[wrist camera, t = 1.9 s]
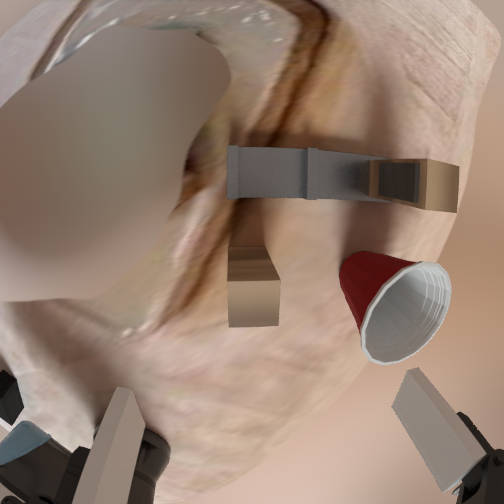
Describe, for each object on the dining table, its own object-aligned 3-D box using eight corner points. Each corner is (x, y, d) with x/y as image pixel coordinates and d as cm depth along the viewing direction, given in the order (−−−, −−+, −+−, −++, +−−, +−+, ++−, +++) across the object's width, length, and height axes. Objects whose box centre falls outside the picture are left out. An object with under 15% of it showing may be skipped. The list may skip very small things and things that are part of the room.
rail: (227, 196, 29) (227, 199, 25) (227, 148, 27) (227, 145, 24) (395, 201, 30) (411, 205, 27) (396, 161, 29) (413, 161, 25)
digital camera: (-2, 366, 33) (-18, 384, 26) (16, 378, 34) (0, 399, 27) (7, 395, 36) (-6, 413, 29) (24, 407, 36) (11, 426, 30)
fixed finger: (364, 196, 28) (420, 209, 18) (365, 159, 26) (422, 157, 17) (397, 198, 28) (456, 212, 18) (399, 164, 27) (459, 166, 17)
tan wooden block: (228, 246, 30) (227, 281, 20) (265, 246, 30) (280, 280, 21) (229, 285, 31) (228, 332, 22) (264, 284, 32) (278, 331, 22)
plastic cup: (354, 327, 34) (396, 383, 23) (301, 280, 32) (336, 336, 20) (408, 268, 33) (466, 305, 21) (363, 212, 30) (427, 235, 19)
